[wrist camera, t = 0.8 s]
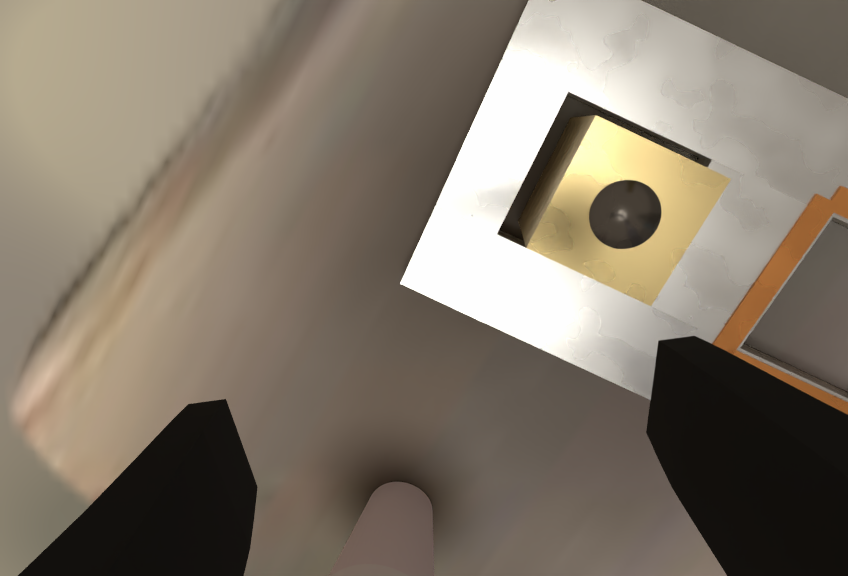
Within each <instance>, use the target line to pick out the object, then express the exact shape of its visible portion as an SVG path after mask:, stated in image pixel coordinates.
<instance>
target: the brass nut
mask: <svg viewBox="0 0 848 576" xmlns="http://www.w3.org/2000/svg"><path fill="white" fill-rule="evenodd" d="M730 180H731V179H730V178H728V177H726V176H724V175H722V174H720V173H718V172H715V171H713V170H711V169H709V168H707V167H705V166H703V165H701V164H698V163H696V162H694V161H692V160H690V159H688V158H686V157H684V156H682V155H679V154H677V153H675V152H673V151H671V150H669V149H667V148H665V147H662V146H660V145H658V144H656V143H654V142H652V141H650V140H648V139H646V138H643V137H641V136H639V135H637V134H635V133H633V132H631V131H629V130H626V129H624V128H622V127H620V126H618V125H616V124H614V123H612V122H609V121H607V120H605V119H603V118H601V117H599V116H597V115H592V116H583V117H573V118H570V120H569V122H568V124H567V126H566V128H565V130H564V132H563V134H562V136H561V138H560V140H559V142H558V143H557V145H556V147H555V149H554V151H553V153H552V155H551V157H550V159H549V161H548V163H547V165H546V167H545V169H544V171H543V173H542V175H541V177H540V179H539V181H538V183H537V185H536V187H535V189H534V191H533V192H532V194H531V196H530V198H529V200H528V202H527V204H526V206H525V208H524V210H523V212H522V214H521V216H520V218H519V220H518V222H519V225H520V228H521V232H522V235H523V239H524V242H525V246H526V248H527V249H529V250H531V251H534V252H536V253H538V254H540V255H542V256H544V257H546V258H549V259H551V260H553V261H555V262H557V263H559V264H561V265H563V266H566V267H568V268H570V269H572V270H574V271H576V272H578V273H581V274H583V275H585V276H587V277H589V278H591V279H593V280H596V281H598V282H600V283H602V284H604V285H606V286H608V287H611V288H613V289H615V290H617V291H619V292H621V293H623V294H626V295H628V296H630V297H632V298H634V299H636V300H638V301H641V302H643V303H645V304H647V305H649V306H651V305H652V304H653V302H654V301H655V299H656V298H657V296H658V294H659V293H660V291H661V290H662V288H663V286H664V285H665V283H666V282H667V280H668V278H669V277H670V275H671V274H672V272H673V271H674V269H675V267H676V266H677V264H678V263H679V261H680V259H681V258H682V256H683V255H684V253H685V252H686V250H687V248H688V247H689V245H690V244H691V242H692V240H693V239H694V237H695V236H696V234H697V232H698V231H699V229H700V228H701V226H702V225H703V223H704V221H705V220H706V218H707V217H708V215H709V213H710V212H711V210H712V209H713V207H714V206H715V204H716V202H717V201H718V199H719V198H720V196H721V194H722V193H723V191H724V190H725V188H726V186H727V185H728V183H729V182H730Z"/></svg>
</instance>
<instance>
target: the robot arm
mask: <svg viewBox="0 0 848 576" xmlns="http://www.w3.org/2000/svg"><path fill="white" fill-rule="evenodd" d="M646 433H647V435H648V437H649V439H650V441H651V444H652V446H653V448H654V450H655V453H656V455H657V457H658V459H659V461H660V464H661V466H662V468H663V470H664V472H665V474H666V476H667V478H668V480H669V482H670V484H671V486H672V488H673V490H674V491H675V493H676V495H677V496H678V498H679V500H680V501H681V503H682V504H683V506H684V508H685V509H686V511H687V512H688V514H689V516H690V517H691V519H692V520H693V522H694V524H695V525H696V527H697V529H698V530H699V532H700V533H701V535H702V536H703V538H704V540H705V541H706V543H707V544H708V546H709V547H710V549H711V551H712V552H713V554H714V555H715V557H716V559H717V560H718V562H719V563H720V565H721V566H722V568H723V570H724V571H725V573H726V574H727V576H848V414H846V413H844V412H842V411H840V410H838V409H836V408H834V407H832V406H830V405H828V404H826V403H824V402H822V401H820V400H818V399H816V398H814V397H812V396H810V395H809V394H807V393H805V392H803V391H801V390H799V389H797V388H795V387H793V386H791V385H789V384H788V383H786V382H784V381H782V380H780V379H778V378H776V377H774V376H772V375H771V374H769V373H767V372H765V371H763V370H761V369H759V368H757V367H756V366H754V365H752V364H750V363H748V362H746V361H744V360H742V359H740V358H739V357H737V356H735V355H733V354H731V353H729V352H727V351H725V350H723V349H721V348H719V347H717V346H715V345H713V344H711V343H709V342H707V341H705V340H703V339H701V338H698V337H696V336H688V337H681V338H674V339H666V340H659V341H658V348H657V356H656V363H655V371H654V378H653V386H652V393H651V401H650V408H649V416H648V424H647V431H646ZM256 495H257V484H256V482H255V479H254V476H253V473H252V471H251V468H250V465H249V462H248V459H247V457H246V454H245V451H244V448H243V445H242V443H241V440H240V437H239V434H238V432H237V429H236V426H235V423H234V420H233V418H232V415H231V412H230V409H229V407H228V404H227V401H226V399H223V400H216V401H209V402H201V403H194V404H188V405H187V406H186V407H185V408H184V409H183V410H182V411H181V412H180V413H179V414H178V415H177V416H176V417H175V418H174V419H173V420H172V421H171V422H170V423H169V424H168V425H167V426H166V427H165V428H164V429H163V430H162V431H161V432H160V434H159V435H158V436H157V437H156V438H155V439H154V440H153V441H152V442H151V443H150V444H149V445H148V446H147V447H146V448H145V449H144V450H143V451H142V453H141V454H140V455H139V456H138V457H137V458H136V459H135V460H134V461H133V462H132V463H131V464H130V465H129V466H128V467H127V468H126V469H125V470H124V471H123V472H122V473H121V474H120V476H119V477H118V478H117V479H116V480H115V481H114V482H113V483H112V484H111V485H110V486H109V487H108V488H107V489H106V490H105V491H104V492H103V493H102V494H101V495H100V496H99V497H98V498H97V499H96V500H95V501H94V502H93V503H92V504H91V505H90V507H89V508H88V509H87V510H86V511H85V512H84V513H83V514H82V515H81V516H80V517H78V519H76V520H75V521H74V522H73V523H72V524H71V525H70V526H69V527H68V528H67V529H66V530H65V531H64V532H63V533H62V534H61V535H60V536H59V537H58V538H57V539H56V540H55V541H54V542H52V543H51V544H50V545H49V546H48V548H46V549H45V550H44V551H43V552H42V553H41V554H40V555H39V556H38V557H37V558H36V559H35V560H34V561H33V562H32V563H31V564H30V565H29V566H28V567H27V568H25V569H24V570H23V571H22V572H21V573H20V574H19V575H18V576H244V571H245V567H246V563H247V559H248V554H249V550H250V544H251V537H252V529H253V522H254V513H255V504H256Z"/></svg>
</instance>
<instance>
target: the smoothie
mask: <svg viewBox="0 0 848 576" xmlns="http://www.w3.org/2000/svg"><path fill="white" fill-rule="evenodd" d="M329 576H434V544H433V509H432V504H431V502H430V500H429V498H428V497H427V495H426V494H425V493H424V492H423V491H422V490H421V489H419V488H418V487H416V486H414V485H412V484H409V483H405V482H390V483H386V484H383V485H381V486H380V487H378V488H377V489H376V490H375V491H374V492H373V493H372V495H371V497H370V499H369V501H368V503H367V504H366V506H365V508H364V510H363V512H362V514H361V516H360V518H359V519H358V521H357V523H356V525H355V527H354V529H353V531H352V533H351V534H350V536H349V538H348V540H347V542H346V544H345V546H344V548H343V550H342V551H341V553H340V555H339V557H338V559H337V561H336V563H335V565H334V566H333V568H332V570H331V572H330V574H329Z"/></svg>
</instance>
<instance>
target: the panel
mask: <svg viewBox="0 0 848 576" xmlns="http://www.w3.org/2000/svg"><path fill="white" fill-rule="evenodd" d="M566 95H567V96H569V97H572V98H574V99H576V100H578V101H580V102H582V103H584V104H586V105H588V106H591V107H593V108H595V109H597V110H599V111H601V112H603V113H605V114H608V115H610V116H612V117H614V118H616V119H618V120H620V121H622V122H624V123H627V124H629V125H631V126H633V127H635V128H637V129H639V130H641V131H643V132H646V133H648V134H650V135H652V136H654V137H656V138H658V139H660V140H663V141H665V142H667V143H669V144H671V145H673V146H675V147H677V148H679V149H682V150H684V151H686V152H688V153H690V154H692V155H694V156H696V157H699V158H698V160H697V161H696V163H698V164H701V165H703V166H705V167H707V168H709V169H711V170H713V171H715V172H718V173H720V174H722V175H724V176H726V177H728V178H730V179H731V180H730V182H729V183H728V185H727V186H726V188H725V190H724V191H723V193H722V194H721V196H720V198H719V199H718V201H717V202H716V204H715V206H714V207H713V209H712V210H711V212H710V213H709V215H708V217H707V218H706V220H705V221H704V223H703V225H702V226H701V228H700V229H699V231H698V232H697V234H696V236H695V237H694V239H693V240H692V242H691V244H690V245H689V247H688V248H687V250H686V252H685V253H684V255H683V256H682V258H681V259H680V261H679V263H678V264H677V266H676V267H675V269H674V271H673V272H672V274H671V275H670V277H669V278H668V280H667V282H666V283H665V285H664V286H663V288H662V290H661V291H660V293H659V294H658V296H657V298H656V299H655V301H654V302H653V304H652V305H651V306H649V305H647V304H645V303H643V302H641V301H638V300H636V299H634V298H632V297H630V296H628V295H626V294H623V293H621V292H619V291H617V290H615V289H613V288H611V287H608V286H606V285H604V284H602V283H600V282H598V281H596V280H593V279H591V278H589V277H587V276H585V275H583V274H581V273H578V272H576V271H574V270H572V269H570V268H568V267H566V266H563V265H561V264H559V263H557V262H555V261H553V260H551V259H549V258H546V257H544V256H542V255H540V254H538V253H536V252H534V251H531V250H529V249H527V248H526V246H525V242H524V241H523V240H520V239H518V238H516V237H514V236H512V235H510V234H508V233H506V232H503V231H501V230H499V229H500V227H501V225H502V223H503V221H504V219H505V217H506V215H507V213H508V211H509V209H510V207H511V205H512V203H513V201H514V199H515V197H516V195H517V193H518V191H519V189H520V187H521V185H522V183H523V181H524V179H525V177H526V175H527V173H528V171H529V169H530V167H531V165H532V163H533V161H534V159H535V157H536V155H537V153H538V151H539V149H540V147H541V145H542V143H543V141H544V139H545V137H546V135H547V133H548V131H549V129H550V127H551V125H552V123H553V121H554V119H555V117H556V115H557V113H558V111H559V109H560V107H561V105H562V103H563V101H564V99H565V97H566ZM831 220H832V221H834V222H836V223H838V224H840V225H842V226H845V227H847V228H848V98H845V97H843V96H841V95H839V94H837V93H835V92H833V91H831V90H829V89H827V88H824V87H822V86H820V85H818V84H816V83H814V82H812V81H810V80H808V79H806V78H803V77H801V76H799V75H797V74H795V73H793V72H791V71H789V70H787V69H785V68H782V67H780V66H778V65H776V64H774V63H772V62H770V61H768V60H766V59H764V58H761V57H759V56H757V55H755V54H753V53H751V52H749V51H747V50H745V49H743V48H740V47H738V46H736V45H734V44H732V43H730V42H728V41H726V40H724V39H722V38H719V37H717V36H715V35H713V34H711V33H709V32H707V31H705V30H703V29H701V28H698V27H696V26H694V25H692V24H690V23H688V22H686V21H684V20H682V19H680V18H677V17H675V16H673V15H671V14H669V13H667V12H665V11H663V10H661V9H659V8H656V7H654V6H652V5H650V4H648V3H646V2H644V1H642V0H528V3H527V5H526V7H525V9H524V12H523V14H522V16H521V18H520V20H519V23H518V25H517V27H516V29H515V31H514V34H513V36H512V38H511V40H510V42H509V45H508V47H507V49H506V51H505V53H504V56H503V58H502V60H501V62H500V64H499V67H498V69H497V71H496V73H495V76H494V78H493V80H492V82H491V84H490V87H489V89H488V91H487V93H486V95H485V98H484V100H483V102H482V104H481V106H480V109H479V111H478V113H477V115H476V117H475V120H474V122H473V124H472V126H471V128H470V131H469V133H468V135H467V137H466V140H465V142H464V144H463V146H462V148H461V151H460V153H459V155H458V157H457V159H456V162H455V164H454V166H453V168H452V170H451V173H450V175H449V177H448V179H447V181H446V184H445V186H444V188H443V190H442V192H441V195H440V197H439V199H438V201H437V203H436V206H435V208H434V210H433V212H432V215H431V217H430V219H429V221H428V223H427V226H426V228H425V230H424V232H423V234H422V237H421V239H420V241H419V243H418V245H417V248H416V250H415V252H414V254H413V256H412V259H411V261H410V263H409V265H408V267H407V270H406V272H405V274H404V276H403V279H402V281H401V283H400V284H402V285H404V286H406V287H408V288H410V289H413V290H415V291H417V292H419V293H421V294H423V295H426V296H428V297H430V298H432V299H434V300H436V301H438V302H441V303H443V304H445V305H447V306H449V307H451V308H454V309H456V310H458V311H460V312H462V313H464V314H466V315H469V316H471V317H473V318H475V319H477V320H479V321H481V322H484V323H486V324H488V325H490V326H492V327H494V328H497V329H499V330H501V331H503V332H505V333H507V334H509V335H512V336H514V337H516V338H518V339H520V340H522V341H525V342H527V343H529V344H531V345H533V346H535V347H537V348H540V349H542V350H544V351H546V352H548V353H550V354H553V355H555V356H557V357H559V358H561V359H563V360H565V361H568V362H570V363H572V364H574V365H576V366H578V367H580V368H583V369H585V370H587V371H589V372H591V373H593V374H596V375H598V376H600V377H602V378H604V379H606V380H608V381H611V382H613V383H615V384H617V385H619V386H621V387H624V388H626V389H628V390H630V391H632V392H634V393H636V394H639V395H641V396H643V397H645V398H647V399H649V400H651V393H652V386H653V378H654V371H655V363H656V356H657V348H658V341H659V340H666V339H674V338H681V337H688V336H696V337H698V338H701V339H703V340H705V341H707V342H709V343H711V344H713V345H715V346H717V347H719V348H721V349H723V350H725V351H727V352H729V353H731V354H733V355H735V356H737V357H739V358H740V359H742V360H744V361H746V362H748V363H750V364H752V365H754V366H756V367H757V368H759V369H761V370H763V371H765V372H767V373H769V374H771V375H772V376H774V377H776V378H778V379H780V380H782V381H784V382H786V383H788V384H789V385H791V386H793V387H795V388H797V389H799V390H801V391H803V392H805V393H807V394H809V395H810V396H812V397H814V398H816V399H818V400H820V401H822V402H824V403H826V404H828V405H830V406H832V407H834V408H836V409H838V410H840V411H842V412H844V413H846V414H848V392H846V391H843V390H841V389H839V388H837V387H835V386H833V385H831V384H828V383H826V382H824V381H822V380H820V379H818V378H816V377H813V376H811V375H809V374H807V373H805V372H803V371H801V370H799V369H796V368H794V367H792V366H790V365H788V364H786V363H784V362H781V361H779V360H777V359H775V358H773V357H771V356H769V355H766V354H764V353H762V352H760V351H758V350H756V349H754V348H751V347H749V346H747V345H745V344H743V343H744V342H745V340H746V339H747V338H748V336H749V335H750V333H751V332H752V330H753V329H754V328H755V326H756V325H757V323H758V322H759V321H760V319H761V318H762V316H763V315H764V314H765V312H766V311H767V309H768V308H769V307H770V305H771V304H772V302H773V301H774V300H775V298H776V297H777V295H778V294H779V292H780V291H781V290H782V288H783V287H784V285H785V284H786V283H787V281H788V280H789V278H790V277H791V276H792V274H793V273H794V271H795V270H796V269H797V267H798V266H799V264H800V263H801V262H802V260H803V259H804V257H805V256H806V254H807V253H808V252H809V250H810V249H811V247H812V246H813V245H814V243H815V242H816V240H817V239H818V238H819V236H820V235H821V233H822V232H823V231H824V229H825V228H826V226H827V225H828V224H829V222H830V221H831Z"/></svg>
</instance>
